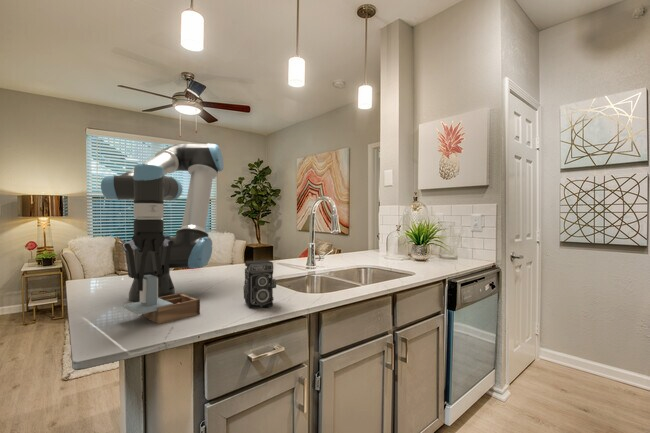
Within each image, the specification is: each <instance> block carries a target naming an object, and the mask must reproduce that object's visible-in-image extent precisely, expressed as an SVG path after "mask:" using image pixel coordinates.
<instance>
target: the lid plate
mask: <svg viewBox="0 0 650 433" xmlns="http://www.w3.org/2000/svg"><path fill="white" fill-rule="evenodd" d="M144 279H146V303H142V302H140V301H134V302H131V303H126V304H124V309H125V310H128V311H129V312H131V313H133V314H134V315H137V316H139V315H142V314H144V313H149V312H153V311H157V308H158V307H163V306H167V305H172V304H173V303H170V302H168V301H165V300H163V299H160V298H158V300H157V276H153V275H144Z"/></svg>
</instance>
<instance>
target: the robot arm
mask: <svg viewBox="0 0 650 433" xmlns="http://www.w3.org/2000/svg"><path fill="white" fill-rule="evenodd" d="M223 170H224V158H223V153H222V150H221V148H220V146H219V145H218V144H216V143H209V142H207V143H186V142H185V143H184V142H183V143H177V144H173V145H170V146H168V147H165V148H163V149H161V150H159V151H157V152H156V153H155V155H154V156H153V157H152V158H150V159H148V160H145V162H143V163H137V164H135V165H134V167H133V168H131V169H130V170H128V171H127V172H124V173H122V174H119V175H115V174H113V175H107V176H105V177H103V178H102V180H101V182H100V190H101V193H102V195H103V196H104V197H105V198H106V199H109V200H117V201H121V200H123V201H124V200H125V201H127V200H131V201H132V200H133V217H134V218H135V219H134V220H133V236H132V238H131V240H129V241H127V242H122V244H121V246H122V249H123V250H124V252H125V260H126V268H127V269H126V270H127V274H128V275H127V276H128V277H129V278H131V279H133V280H132V283H131V286H130V288H129V291H128V300H130V301H132V302H142V303H146V279H144V275H153V276H157V300H158V297H163V296H168V295H173V294H176V293H175V292H176V289H175V285H174V282H173V279H172V278H171V272H170V269H192V270H193V269H200V268H204V267H206V266H207V264H208V263H209V262H210V259H211V258H212V252H213V240H212V239H211V237H209V236H210V235H209V233H208V232H207V231H206V227H207V226H206V225H207V220H208V214H209V208H210V200H211V199H210V198H211V194H212V188H213V187H212V186H213V180H214V179H215V178H217V176H218V172H222V171H223ZM181 171H184V172H188V174H189V175H190V179H189V185H188V189H187V196H186V199H185V200H186V201H185V207H184V212H183V216H182V218H183V219H182V222H181V227H179V229H177V230H176V232H175V236H171V234H170V233H168V232H166V233H164V229H165V228H164V224H165V223H164V222H165V221H164V219H162V218H164V215H165V214H164V211H165V210H164V207H165V206H164V201H175V200H177V199H179V197H181V195H182V194H183V185H182V183H181V182H180V180H178V179H176V178H174V177H172V176H168V175H167V174H173V173H175V172H181Z"/></svg>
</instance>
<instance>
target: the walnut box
mask: <svg viewBox="0 0 650 433" xmlns="http://www.w3.org/2000/svg"><path fill="white" fill-rule="evenodd" d="M158 298H160V299H163V300H165V301H168V302H170V303H173V304H172V305H167V306H163V307H158V308H157V311H153V312H149V313H144V314H141V316H142V317H144V318H146V319H148V320H150V321H151V322H154V324H157V325H161V324H166V323H169V322H174V321H177V320H181V319H184V318H185V319H186V318H189V317H194V316H197V315H200V314H201V299H200V298H196V297H192V296H190V295H187V294H183V293H182V292H180V293H175V294H173V295H168V296H163V297H158Z"/></svg>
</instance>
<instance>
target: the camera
mask: <svg viewBox="0 0 650 433" xmlns="http://www.w3.org/2000/svg"><path fill="white" fill-rule="evenodd" d="M244 265H245V268H244V281H243V282H244V283H243V284H244V285H243V286H242V287H243V289H242V290H243V300H244V303H245V304H246V306H247V308H248V309H255V308H256V309H257V308H263V307H269V308H270V307H272V306H273V305H274V303H273V302H274V296H273V293H274V292H273V291H274V290H273V289H276V288H277V280H276V278H273V276H274V275H273V274H274V262H273V261H271V260H266V259H264V260H248V261H247V260H246V261H245V262H244Z"/></svg>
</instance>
